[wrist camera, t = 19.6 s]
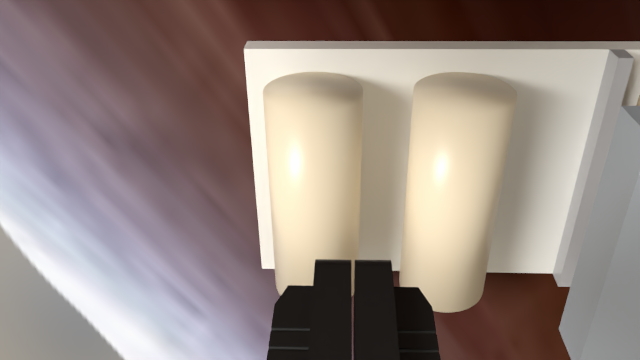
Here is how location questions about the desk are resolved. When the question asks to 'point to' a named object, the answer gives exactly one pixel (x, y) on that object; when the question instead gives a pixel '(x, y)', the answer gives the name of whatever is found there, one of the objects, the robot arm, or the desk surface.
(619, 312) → the slab
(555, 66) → the roller bed
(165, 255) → the desk surface
